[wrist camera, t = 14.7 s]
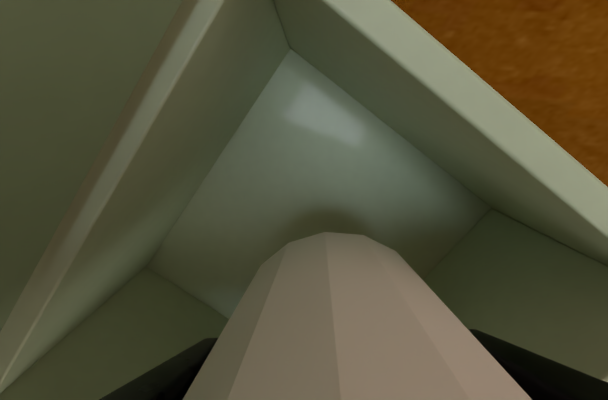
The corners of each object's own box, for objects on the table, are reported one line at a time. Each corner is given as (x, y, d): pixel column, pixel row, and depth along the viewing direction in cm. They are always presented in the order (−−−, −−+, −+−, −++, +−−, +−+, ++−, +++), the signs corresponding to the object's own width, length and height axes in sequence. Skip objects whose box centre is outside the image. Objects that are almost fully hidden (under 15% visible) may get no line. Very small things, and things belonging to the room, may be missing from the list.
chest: (504, 200, 14) (744, 302, 6) (328, 384, 17) (339, 611, 9) (288, 26, 13) (244, -129, 5) (135, 262, 16) (-48, 408, 8)
